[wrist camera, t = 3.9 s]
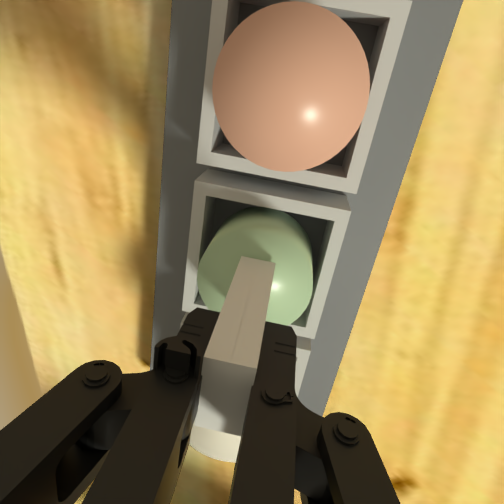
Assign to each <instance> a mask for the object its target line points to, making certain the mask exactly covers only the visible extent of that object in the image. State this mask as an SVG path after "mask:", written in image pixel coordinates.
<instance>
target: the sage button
mask: <svg viewBox="0 0 504 504" xmlns="http://www.w3.org/2000/svg"><path fill="white" fill-rule="evenodd" d="M241 256H244V257H249V258H254V259H259V260H264V261H269V262H273V263H276V264H275V270H274V275H273V281H272V287H271V292H270V298H269V304H268V309H267V315H266V321H268V322H272V323H277V324H282V325H286V326H288V325H290V324H291V323H293V322H294V321H295V320H297V319H298V318H299V317H300V316H301V315H302V314H303V312H304V311H305V309H306V308H307V306H308V304H309V302H310V299H311V296H312V291H313V268H312V247H311V243H310V240H309V237H308V235H307V233H306V232H305V230H304V229H303V227H302V226H301V225H300V224H299V223H298V222H297V221H296V220H295V219H294V218H292V217H291V216H290V215H288V214H286V213H284V212H282V211H280V210H276V209H271V208H266V207H251V208H247V209H243V210H241V211H238V212H236V213H235V214H233V215H231V216H230V217H229V218H227V219H226V220H225V221H224V222H223V224H222V225H221V226H220V228H219V229H218V231H217V233H216V234H215V236H214V238H213V239H212V241H211V243H210V244H209V246H208V248H207V249H206V251H205V253H204V254H203V256H202V258H201V260H200V263H199V266H198V271H197V285H198V289H199V293H200V295H201V298H202V300H203V302H204V303H205V305H206V306H207V308H208V309H209V310H212V311H217V312H221V309H222V306H223V304H224V301H225V298H226V296H227V293H228V290H229V288H230V285H231V282H232V280H233V277H234V275H235V272H236V269H237V267H238V264H239V261H240V259H241Z"/></svg>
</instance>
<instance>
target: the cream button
mask: <svg viewBox="0 0 504 504" xmlns="http://www.w3.org/2000/svg"><path fill="white" fill-rule="evenodd" d="M194 424H195V421H194ZM194 424H193V427H192V430H191V437H190V443H189V444H190V445H191V446H192V447H193V448H194V449H196V450H197V451H199V452H200V453H202V454H204V455H206V456H208V457H211V458H213V459H216V460H220V461H225V462H236V459H237V454H238V449H239V445H240V440H241V436H237V435H232V434H228V433H224V432H219V431H215V430H211V429H207V428H202V427H198V426H194Z"/></svg>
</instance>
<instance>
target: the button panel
mask: <svg viewBox="0 0 504 504" xmlns="http://www.w3.org/2000/svg"><path fill="white" fill-rule="evenodd" d="M291 1H298V2H307V3H311V4H315V5H318V6H321V7H323V8H325V9H328V10H329V11H331V12H332V13H334V14H336V15H337V16H338V17H340V18H341V19H342V20H343V21H344V22H345V23H346V24H347V25H348V26H349V27H350V28H351V29H352V31H353V32H354V33H355V35H356V37H357V38H358V40H359V41H360V43H361V46H362V48H363V50H364V52H365V56H366V59H367V62H368V68H369V74H370V91H369V99H368V104H367V108H366V111H365V114H364V117H363V120H362V122H361V124H360V126H359V128H358V130H357V131H356V133H355V134H354V136H353V138H352V139H351V140H350V141H349V142H348V144H347V145H346V146H345V147H344V148H343V149H342V150H341V151H340V152H339V153H338V154H336V155H335V156H334V157H332V158H331V159H329V160H328V161H326V162H324V163H322V164H320V165H318V166H315V167H313V168H310V169H306V170H302V171H295V172H282V171H274V170H270V169H267V168H264V167H261V166H259V165H256V164H255V163H253V162H251V161H249V160H248V159H246V158H245V157H244V156H242V155H241V154H240V153H239V152H238V151H237V150H236V149H235V148H234V147H233V146H232V145H231V143H230V142H229V141H228V140H227V138H226V136H225V135H224V133H223V131H222V129H221V127H220V125H219V123H218V120H217V117H216V114H215V109H214V104H213V95H212V85H213V75H214V69H215V66H216V62H217V59H218V56H219V54H220V52H221V49H222V47H223V46H224V44H225V42H226V41H227V39H228V37H229V36H230V35H231V33H232V32H233V31H234V30H235V28H236V27H237V26H238V25H239V24H240V23H241V22H242V21H244V20H245V19H246V18H248V17H249V16H250V15H251V14H253V13H255V12H257V11H258V10H260V9H262V8H265V7H267V6H270V5H272V4H277V3H281V2H291ZM462 2H463V0H172V11H171V27H170V44H169V61H168V78H167V95H166V112H165V128H164V145H163V162H162V179H161V196H160V212H159V229H158V246H157V263H156V280H155V296H154V313H153V330H152V347H151V364H150V370H153V362H154V347H155V345H156V344H157V343H158V342H159V341H161V340H163V339H165V338H167V337H172V336H177V334H178V332H179V330H180V328H181V326H182V325H183V322H184V320H185V318H186V316H187V315H188V313H190V312H191V311H193V310H194V309H196V308H197V307H198V308H203V309H207V310H209V309H208V308H207V306H206V305H205V303H204V302H203V300H202V298H201V295H200V293H199V289H198V285H197V271H198V266H199V263H200V260H201V258H202V256H203V254H204V253H205V251H206V249H207V248H208V246H209V244H210V243H211V241H212V239H213V238H214V236H215V234H216V233H217V231H218V229H219V228H220V226H221V225H222V224H223V222H224V221H225V220H226V219H227V218H229V217H230V216H231V215H233V214H235V213H236V212H238V211H241V210H243V209H247V208H251V207H266V208H271V209H276V210H280V211H282V212H284V213H286V214H288V215H290V216H291V217H292V218H294V219H295V220H296V221H297V222H298V223H299V224H300V225H301V226H302V227H303V229H304V230H305V232H306V233H307V235H308V237H309V240H310V243H311V247H312V268H313V291H312V296H311V299H310V302H309V304H308V306H307V308H306V309H305V311H304V312H303V314H302V315H301V316H300V317H299V318H298V319H297V320H295V321H294V322H293V323H291V324H290V325H288V326H291V327H292V328H293V330H294V332H295V334H296V336H297V347H296V370H295V393H296V395H297V397H298V399H299V400H300V402H301V403H302V404H303V405H304V406H305V407H306V408H308V409H309V410H311V411H312V412H314V413H316V414H318V415H320V416H323V413H324V410H325V407H326V404H327V401H328V398H329V395H330V392H331V389H332V386H333V383H334V380H335V377H336V374H337V371H338V368H339V365H340V362H341V360H342V357H343V354H344V351H345V348H346V345H347V342H348V339H349V336H350V333H351V330H352V327H353V324H354V321H355V318H356V315H357V312H358V309H359V306H360V303H361V300H362V298H363V295H364V292H365V289H366V286H367V283H368V280H369V277H370V274H371V271H372V268H373V265H374V262H375V259H376V256H377V253H378V250H379V247H380V244H381V241H382V238H383V236H384V233H385V230H386V227H387V224H388V221H389V218H390V215H391V212H392V209H393V206H394V203H395V200H396V197H397V194H398V191H399V188H400V185H401V182H402V179H403V176H404V174H405V171H406V168H407V165H408V162H409V159H410V156H411V153H412V150H413V147H414V144H415V141H416V138H417V135H418V132H419V129H420V126H421V123H422V120H423V117H424V114H425V112H426V109H427V106H428V103H429V100H430V97H431V94H432V91H433V88H434V85H435V82H436V79H437V76H438V73H439V70H440V67H441V64H442V61H443V58H444V55H445V52H446V50H447V47H448V44H449V41H450V38H451V35H452V32H453V29H454V26H455V23H456V20H457V17H458V14H459V11H460V8H461V5H462Z"/></svg>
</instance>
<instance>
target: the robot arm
mask: <svg viewBox="0 0 504 504" xmlns="http://www.w3.org/2000/svg"><path fill="white" fill-rule="evenodd" d="M275 264H276V263H273V262H269V261H264V260H259V259H254V258H249V257H244V256H241V259H240V261H239V264H238V267H237V269H236V272H235V275H234V277H233V280H232V282H231V285H230V288H229V290H228V293H227V296H226V298H225V301H224V304H223V306H222V309H221V312H217V311H212V310H207V309H203V308H198V307H197V308H196V309H194V310H193V311H191V312H190V313H188V315H187V316H186V318H185V320H184V322H183V325H182V326H181V328H180V330H179V332H178V334H177V336H172V337H167V338H165V339H163V340H161V341H159V342H158V343H157V344H156V345H155V347H154V362H153V370H150V371H147V372H143V373H131V374H122V371H121V369H120V367H119V366H117V365H116V364H115V363H113V362H110V361H106V360H95V361H91V362H88V363H85V364H83V365H81V366H80V367H78V368H77V369H75V370H74V371H73V372H72V373H70V374H69V375H68V376H67V377H65V378H64V379H63V380H62V381H61V382H59V383H58V384H57V385H56V386H54V387H53V388H52V389H51V390H50V391H48V392H47V393H46V394H45V395H43V396H42V397H41V398H40V399H38V400H37V401H36V402H35V403H34V404H32V406H30V407H29V408H27V409H26V410H25V411H24V412H23V413H21V414H20V415H19V416H18V417H17V418H15V419H14V420H13V421H12V422H10V423H9V424H8V425H7V426H5V427H4V428H3V429H2V430H0V504H74V503H75V502H76V500H77V499H78V498H79V497H80V496H81V494H82V493H83V492H84V491H85V490H86V488H87V487H88V486H89V485H90V484H91V482H92V481H93V480H94V479H95V480H94V482H93V484H92V485H91V487H90V489H89V491H88V493H87V495H86V497H85V499H84V501H83V502H82V504H170V502H171V499H172V496H173V492H174V489H175V486H176V483H177V480H178V477H179V474H180V471H181V468H182V465H183V461H184V458H185V455H186V452H187V449H188V446H189V443H190V437H191V430H192V427H193V424H194V421H195V424H194V426H198V427H202V428H207V429H211V430H215V431H219V432H224V433H228V434H232V435H237V436H241V440H240V445H239V449H238V454H237V459H236V463H235V468H234V475H233V480H232V486H231V491H230V496H229V501H228V504H294V488H295V489H296V490H298V491H300V496H301V501H302V504H400V502H399V499H398V497H397V495H396V492H395V490H394V488H393V485H392V483H391V481H390V478H389V476H388V474H387V472H386V469H385V467H384V465H383V462H382V460H381V458H380V455H379V453H378V451H377V448H376V446H375V444H374V441H373V439H372V437H371V434H370V433H369V431H368V429H367V428H366V426H365V425H364V424H363V423H362V422H361V421H359V420H358V419H357V418H355V417H353V416H351V415H349V414H346V413H341V412H336V413H330V414H329V415H327V416H326V417H325V418H324V417H322V416H320V415H318V414H316V413H314V412H312V411H311V410H309V409H308V408H306V407H305V406H304V405H303V404H302V403H301V402H300V400H299V399H298V397H297V395H296V393H295V370H296V347H297V336H296V334H295V332H294V330H293V328H292V327H291V326H286V325H282V324H277V323H272V322H268V321H266V315H267V309H268V304H269V298H270V292H271V287H272V281H273V275H274V270H275ZM95 477H96V478H95Z"/></svg>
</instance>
